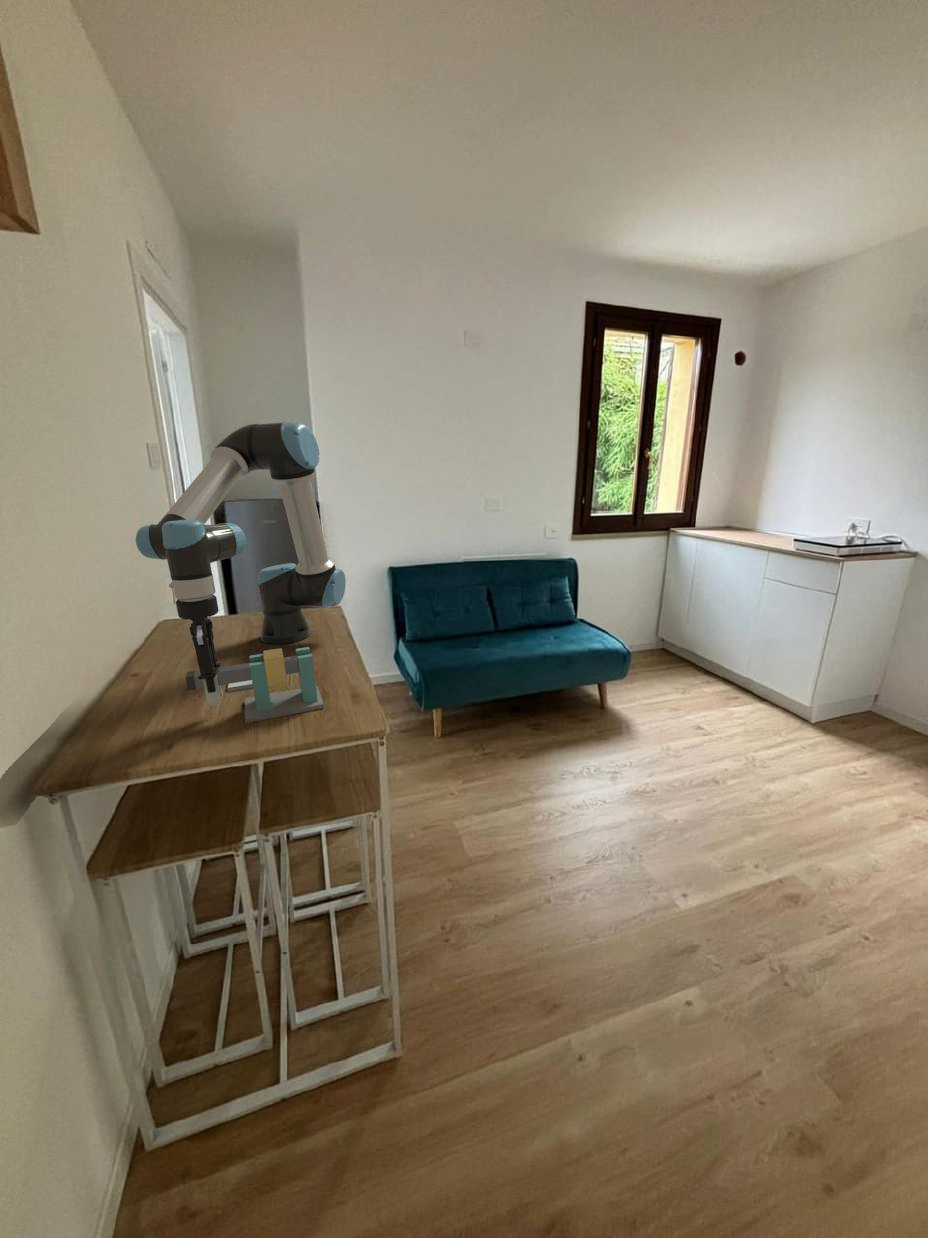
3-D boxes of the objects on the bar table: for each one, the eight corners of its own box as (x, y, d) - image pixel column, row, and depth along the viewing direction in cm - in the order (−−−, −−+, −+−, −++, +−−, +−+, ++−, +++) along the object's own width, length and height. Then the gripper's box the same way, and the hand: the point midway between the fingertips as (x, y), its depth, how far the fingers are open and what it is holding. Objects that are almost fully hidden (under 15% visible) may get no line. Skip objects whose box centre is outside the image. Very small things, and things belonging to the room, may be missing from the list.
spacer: (268, 682, 118) (263, 650, 116) (286, 679, 120) (281, 648, 117) (269, 692, 113) (263, 659, 110) (288, 689, 114) (283, 656, 112)
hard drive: (262, 682, 128) (262, 665, 139) (227, 688, 125) (229, 669, 136) (263, 688, 129) (263, 670, 140) (228, 694, 126) (230, 675, 137)
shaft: (189, 685, 110) (187, 672, 110) (311, 665, 119) (310, 653, 119) (188, 690, 108) (185, 677, 107) (313, 670, 117) (311, 657, 116)
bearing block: (245, 702, 120) (237, 654, 116) (317, 689, 126) (312, 643, 122) (245, 723, 110) (236, 671, 107) (323, 708, 116) (318, 658, 112)
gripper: (179, 590, 111) (199, 689, 118) (169, 608, 96) (192, 720, 103) (217, 586, 113) (234, 683, 120) (213, 603, 99) (233, 713, 106)
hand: (215, 700), depth 112 cm, fingers closed on shaft, 3 cm apart
